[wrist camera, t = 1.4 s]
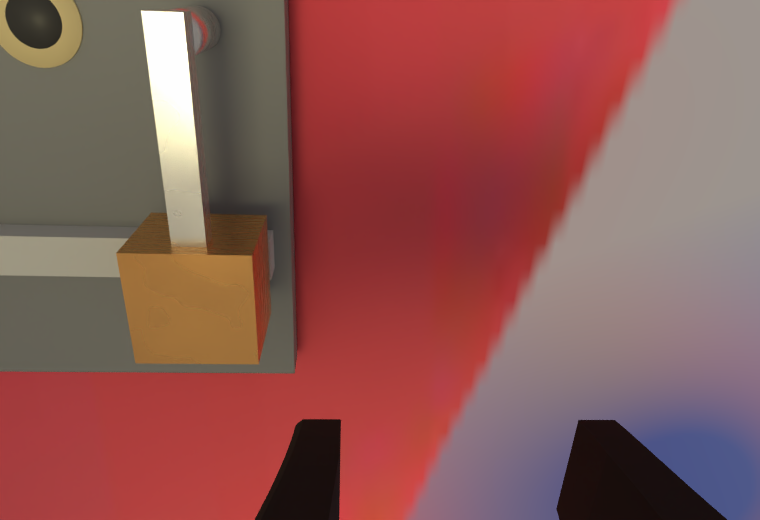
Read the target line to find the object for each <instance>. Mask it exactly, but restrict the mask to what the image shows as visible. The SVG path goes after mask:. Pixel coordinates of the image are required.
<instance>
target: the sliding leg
mask: <svg viewBox="0 0 760 520" xmlns="http://www.w3.org/2000/svg"><path fill="white" fill-rule="evenodd" d="M141 14H142V22H143V30H144V38H145V46H146V53H147V61H148V69H149V77H150V85H151V92H152V100H153V108H154V116H155V123H156V131H157V139H158V147H159V155H160V162H161V170H162V178H163V186H164V193H165V201H166V209H167V213H153V212H151V213H150V214H149V216H148V217H147V218H146V219H145V220H144V221H143V223H142V224H141V225H140V226H139V227H138V228H137V230H136V231H135V232H134V233H133V234H132V235H131V236H130V238H129V239H128V240H127V241H126V242H125V243H124V245H123V246H122V247H121V248H120V249H119V250H118V252H117V253H116V256H117V262H118V267H119V273H120V279H121V284H122V290H123V296H124V301H125V307H126V313H127V318H128V324H129V330H130V336H131V341H132V347H133V353H134V358H135V363H139V364H259V361H260V357H261V353H262V349H263V344H264V340H265V336H266V332H267V328H268V324H269V320H270V316H271V295H270V274H269V253H268V232H267V215H241V214H210V207H209V197H208V186H207V175H206V165H205V154H204V143H203V132H202V122H201V111H200V100H199V90H198V79H197V68H196V58H195V56H196V55H198V54H200V53H202V52H204V51H206V50H208V49H210V48H212V47H213V46H215V45H216V43H217V42H218V40H219V37H220V24H219V21H218V19H217V18H216V16H215V15H214V14H213V13H212V12H211V11H210V10H209V9H207V8H205V7H202V6H190V7H184V8H178V9H171V10H159V9H148V10H141Z"/></svg>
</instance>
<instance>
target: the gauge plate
mask: <svg viewBox="0 0 760 520" xmlns="http://www.w3.org/2000/svg"><path fill="white" fill-rule="evenodd" d="M190 6H202V7H205V8H207V9H209V10H210V11H211V12H212V13H213V14H214V15H215V16H216V18H217V19H218V21H219V24H220V37H219V40H218V42H217V43H216V45H215V46H213V47H212V48H210V49H208V50H206V51H204V52H202V53H200V54H198V55H196V56H195V58H196V68H197V79H198V90H199V100H200V111H201V122H202V132H203V143H204V154H205V165H206V175H207V186H208V197H209V207H210V214H241V215H267V232H268V253H269V274H270V295H271V316H270V320H269V324H268V328H267V332H266V336H265V340H264V344H263V349H262V353H261V357H260V361H259V364H139V363H135V358H134V353H133V347H132V341H131V336H130V330H129V324H128V318H127V313H126V307H125V301H124V296H123V290H122V284H121V279H120V273H119V267H118V262H117V256H116V253H117V252H118V250H119V249H120V248H121V247H122V246H123V245H124V243H125V242H126V241H127V240H128V239H129V238H130V236H131V235H132V234H133V233H134V232H135V231H136V230H137V228H138V227H139V226H140V225H141V224H142V223H143V221H144V220H145V219H146V218H147V217H148V216H149V214H150V213H151V212H153V213H167V209H166V201H165V193H164V186H163V178H162V170H161V162H160V155H159V147H158V139H157V131H156V123H155V116H154V108H153V100H152V92H151V85H150V77H149V69H148V61H147V53H146V46H145V38H144V30H143V22H142V14H141V10H148V9H159V10H171V9H178V8H184V7H190ZM296 360H297V329H296V290H295V250H294V211H293V171H292V132H291V93H290V53H289V14H288V0H0V371H23V372H168V373H295V367H296Z"/></svg>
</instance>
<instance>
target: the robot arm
mask: <svg viewBox="0 0 760 520" xmlns="http://www.w3.org/2000/svg"><path fill="white" fill-rule="evenodd" d="M340 434H341V420H336V419H303V420H302V421H300V422H299V423H298V424H297V425H296V426H295V430H294V433H293V437H292V440H291V442H290V445H289V448H288V450H287V453H286V456H285V458H284V460H283V463H282V465H281V467H280V470H279V472H278V474H277V476H276V478H275V481H274V483H273V485H272V487H271V489H270V491H269V493H268V495H267V497H266V499H265V501H264V503H263V505H262V507H261V509H260V511H259V513H258V515H257V516H256V518H255V520H339V497H340ZM557 512H558V515H559V520H727V519H726V518H725V517H723V516H722V515H721V514H720V513H719V512H718V511H717V510H715V509H714V508H713V507H712V506H711V505H710V504H709V503H707V502H706V501H705V500H704V499H703V498H702V497H701V496H699V495H698V494H697V493H696V492H695V491H694V490H693V489H692V488H690V487H689V486H688V485H687V484H686V483H685V482H684V481H683V480H682V479H680V478H679V477H678V476H677V475H676V474H675V473H674V472H673V471H671V470H670V469H669V468H668V467H667V466H666V465H665V464H664V463H663V462H662V461H660V460H659V459H658V458H657V457H656V456H655V455H654V454H653V453H652V452H650V451H649V450H648V449H647V448H646V447H645V446H644V445H643V444H641V443H640V442H639V441H638V440H637V439H636V438H635V437H634V436H632V435H631V434H630V433H629V432H628V431H627V430H626V429H625V428H623V427H622V426H621V425H620V424H619V423H617V422H616V421H615V420H579V421H578V425H577V429H576V433H575V437H574V441H573V445H572V449H571V453H570V457H569V461H568V465H567V469H566V473H565V477H564V481H563V485H562V489H561V493H560V497H559V501H558V505H557Z"/></svg>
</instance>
